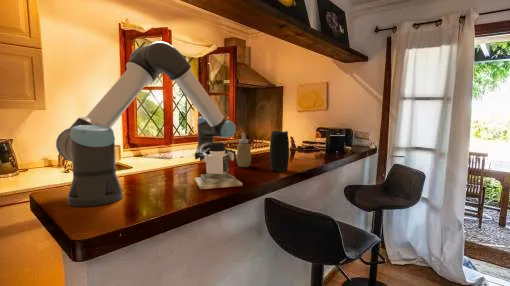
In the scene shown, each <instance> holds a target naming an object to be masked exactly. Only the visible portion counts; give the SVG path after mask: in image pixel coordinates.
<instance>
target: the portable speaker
mask: <svg viewBox="0 0 510 286" xmlns="http://www.w3.org/2000/svg"><path fill="white" fill-rule="evenodd" d="M288 134H289V132H288V130H285V131H282V130H281V131H280V130H272V131H271V134H270V135H271V136H270V140H269V141H270V142H269V161H270V168H271V171H276V172H277V173H284V172H285V173H286V171H288V168H289V159H290V140H289V135H288Z"/></svg>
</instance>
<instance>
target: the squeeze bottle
mask: <svg viewBox="0 0 510 286" xmlns="http://www.w3.org/2000/svg"><path fill="white" fill-rule="evenodd" d="M238 142H239V143H237V149H236V157H235V158H236V164H237V166H238V167H239V168H249V167H250V166H251V162H252V151H251V144H250V143H249V140H248V139H247V135H246V132H242V136H241V139H239V141H238Z"/></svg>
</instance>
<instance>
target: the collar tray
mask: <svg viewBox="0 0 510 286" xmlns="http://www.w3.org/2000/svg"><path fill="white" fill-rule="evenodd" d="M194 181H195V183H196V185H197V186H198V189H200V190H208V189H219V188H220V189H222V188H230V187H231V188H232V187H242V186H243V182H241V181H240V180H239V179H237V178H236V177H235V176H234V175H232V174H230V173H228V172H226V173H224V174H207V173H205V174H200V177H194Z"/></svg>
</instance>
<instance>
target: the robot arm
mask: <svg viewBox="0 0 510 286" xmlns="http://www.w3.org/2000/svg"><path fill="white" fill-rule="evenodd" d="M125 67H126V70H125V72H124V73H122V75H120V77H119V78H118V79H117V81H116V82H115V83H114V84H113V86H111V88H110V89H109V90H108V91H107V92H106V93H105V94H104V96H102V98H101V99H100V100H99V101H98V102H97V103H96V105H94V107H93V108H92V109H91V110H90V111H89V113H87V115H86V116H81V117H78V118H76V120H75V121H74V122H73V123H72V124H71V126H69V128H66V129H64V130H63V131H61V132H60V133H59V135H58V136H57V138H56V140H55V141H56V142H55V147H56V150H57V152H58V154H59V155H60V156H61V158H64V159H65V160H67V161H68V162H71V164H72V165H71V166H72V181H71V184H70V187H69V190H68V193H67V204H68V205H69V206H71V207H76V208H77V207H78V208H79V207H80V208H82V207H85V208H86V207H87V208H88V207H96V206H102V205H107V204H108V205H109V204H111V203H114V202H118V201H119V200H122V199H123V197H124V194H123V188H122V185H121V182H120V181H119V178H118V176H117V170H116V169H117V168H116V148H115V147H116V143H115V141H116V138H115V133H114V129H112V127H113V126H114V125H115V124H116V122H117V121H118V120H119V118H121V117H122V115H123V114H124V112H125V111H126V110H127V108H129V106H130V105H131V104H132V103H133V102H134V101H135V99H136V98H137V96H138V95H139V94H140V93H141V92H142V90H143V89H144V88H145V86H146V85H152V84H153V83H154V82H155V80H156V79H157V78H158V77H159V76H160V75H161V74H163V75H166V76H167V77H168V78H169V80H170V81H171V82H174V83H176V85H177V86H178V87H179V88H180V90H181V91H182V92H183V94H184V95H185V96H186V97H187V99H188V100H189V101H190V102H191V103H192V105H193V106H194V108H195V109H196V110H197V111H198V113H200V116H199V117H198V118H197V145H196V150H195V152H194V160H199V161H200V162H203V161H204V162H205V163H206V162H208V157H207V155H210V154H211V153H210V143H213V142H215V141H214V137H216V138H223V139H225V138H232V137H233V136H234V135H235V134H236V130H237V128H236V124H235V123H234V121H231V120H227V119H226V117H225V116H224V114H223V113H222V111H220V109H219V108H218V106H217V105H216V103H215V102H214V100H213V99H212V98H211V97H210V94H208V92H207V91H206V89H204V87H203V86H202V84H201V83H200V81H199V80H198V79H197V77H196V76H195V74H194V73H193V71H192V70H191V69H192V65H191V64H190V63H189V61H188V60H187V59H186V57H184V55H183V54H182V53H181V51H179V50H178V49H177V48H176V47H175V46H173V45H172V44H170V43H168V42H165V41H155V42H152V43H150V44H146V45H143V46H139V47H137V48H136V49H134V51H132V52H131V54H130V56H129V60H128V62H127V63H126V64H125ZM225 154H228V157H229V160H230V161H234V160H235V158H237V150H236V151H235V150H233V149H227V148H225Z"/></svg>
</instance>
